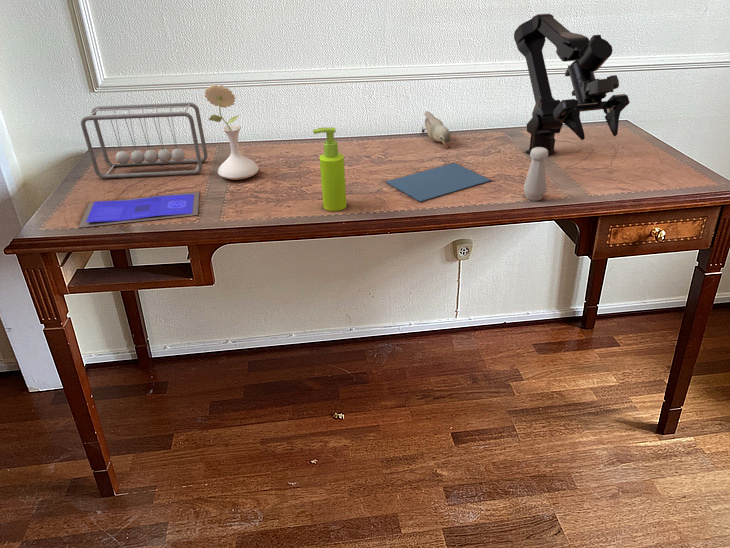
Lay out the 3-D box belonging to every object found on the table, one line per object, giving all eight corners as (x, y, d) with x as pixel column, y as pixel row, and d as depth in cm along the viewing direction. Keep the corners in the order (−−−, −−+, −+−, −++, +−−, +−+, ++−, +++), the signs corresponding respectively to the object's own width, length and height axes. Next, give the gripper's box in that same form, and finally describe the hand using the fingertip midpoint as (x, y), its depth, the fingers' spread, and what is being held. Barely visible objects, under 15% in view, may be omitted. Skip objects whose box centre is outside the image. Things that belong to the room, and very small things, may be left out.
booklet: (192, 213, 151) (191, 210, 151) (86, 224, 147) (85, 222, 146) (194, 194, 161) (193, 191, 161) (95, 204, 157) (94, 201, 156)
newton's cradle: (96, 179, 171) (77, 117, 162) (107, 166, 180) (90, 106, 170) (203, 174, 173) (191, 112, 163) (209, 161, 182) (197, 101, 172)
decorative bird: (439, 150, 187) (440, 125, 182) (418, 134, 199) (418, 111, 195) (455, 147, 188) (456, 123, 184) (433, 132, 201) (433, 109, 196)
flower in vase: (267, 171, 174) (255, 82, 160) (243, 186, 165) (229, 92, 152) (230, 165, 179) (215, 78, 165) (205, 179, 170) (188, 88, 156)
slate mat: (454, 163, 177) (454, 162, 176) (490, 181, 165) (490, 180, 165) (385, 182, 166) (385, 181, 166) (420, 202, 155) (420, 201, 154)
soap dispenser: (319, 202, 156) (312, 125, 145) (346, 200, 156) (341, 124, 145) (319, 212, 151) (312, 133, 140) (346, 210, 151) (342, 131, 140)
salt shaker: (546, 194, 157) (553, 146, 150) (544, 203, 153) (550, 153, 145) (524, 192, 159) (529, 143, 151) (520, 200, 154) (526, 151, 147)
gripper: (565, 66, 146) (581, 125, 143) (633, 60, 150) (650, 117, 147) (545, 91, 157) (560, 146, 154) (609, 85, 160) (625, 139, 158)
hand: (599, 137), depth 153 cm, fingers open, 9 cm apart
